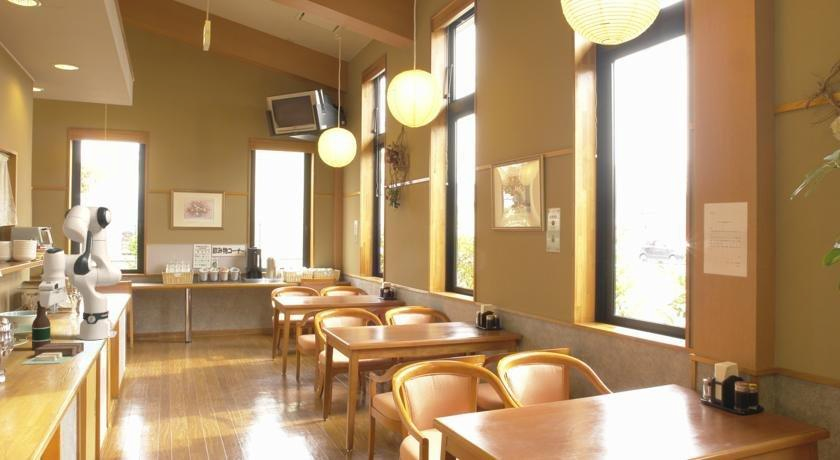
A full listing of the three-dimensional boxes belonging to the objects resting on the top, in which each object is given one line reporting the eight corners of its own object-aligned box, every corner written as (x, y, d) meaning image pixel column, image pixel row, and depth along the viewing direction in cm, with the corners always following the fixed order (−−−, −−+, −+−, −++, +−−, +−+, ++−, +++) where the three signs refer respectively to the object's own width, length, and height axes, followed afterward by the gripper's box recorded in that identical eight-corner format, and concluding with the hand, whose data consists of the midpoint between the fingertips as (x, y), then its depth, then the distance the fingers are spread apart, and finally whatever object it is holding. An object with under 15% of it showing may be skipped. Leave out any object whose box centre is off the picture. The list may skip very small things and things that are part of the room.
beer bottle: (54, 347, 297) (54, 299, 297) (42, 350, 289) (42, 301, 289) (39, 347, 298) (39, 299, 297) (28, 350, 290) (28, 301, 290)
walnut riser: (48, 351, 287) (48, 343, 287) (83, 350, 290) (83, 342, 290) (34, 358, 274) (34, 349, 274) (72, 357, 276) (72, 348, 276)
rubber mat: (34, 358, 273) (34, 357, 273) (71, 357, 276) (71, 356, 276) (21, 364, 261) (21, 363, 261) (60, 363, 264) (60, 362, 264)
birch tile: (43, 357, 274) (43, 352, 274) (62, 356, 276) (62, 352, 276) (35, 361, 266) (35, 356, 266) (54, 360, 268) (54, 356, 268)
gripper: (56, 280, 285) (56, 308, 285) (36, 286, 265) (36, 317, 265) (70, 280, 286) (70, 309, 286) (51, 286, 266) (51, 317, 266)
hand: (54, 313), depth 276 cm, fingers closed
